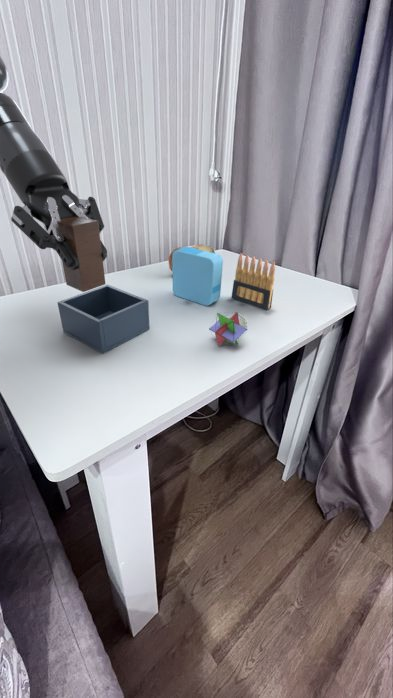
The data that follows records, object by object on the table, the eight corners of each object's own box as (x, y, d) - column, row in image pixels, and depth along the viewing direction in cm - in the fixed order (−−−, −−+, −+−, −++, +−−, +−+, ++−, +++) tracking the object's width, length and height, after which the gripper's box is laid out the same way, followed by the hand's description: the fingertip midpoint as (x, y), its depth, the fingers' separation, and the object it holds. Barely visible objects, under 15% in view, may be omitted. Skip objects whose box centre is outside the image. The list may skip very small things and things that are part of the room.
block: (66, 284, 54) (54, 220, 48) (88, 277, 57) (79, 215, 51) (83, 292, 52) (72, 225, 46) (105, 284, 55) (98, 220, 49)
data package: (220, 301, 85) (224, 255, 78) (210, 307, 81) (213, 259, 75) (182, 289, 90) (183, 245, 84) (172, 294, 87) (172, 249, 80)
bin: (102, 354, 63) (98, 322, 59) (63, 332, 69) (57, 302, 65) (149, 329, 71) (148, 300, 68) (110, 311, 77) (107, 284, 74)
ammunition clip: (271, 308, 83) (279, 260, 76) (267, 310, 81) (275, 262, 75) (234, 296, 88) (239, 251, 81) (231, 298, 87) (235, 252, 80)
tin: (171, 279, 97) (171, 250, 92) (167, 275, 99) (166, 247, 94) (215, 272, 103) (217, 244, 98) (210, 268, 105) (211, 241, 101)
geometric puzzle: (222, 349, 61) (242, 311, 61) (196, 335, 66) (215, 299, 65) (239, 357, 67) (258, 322, 67) (215, 343, 71) (232, 310, 71)
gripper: (-18, 147, 43) (55, 261, 43) (77, 147, 52) (135, 240, 53) (-23, 188, 48) (41, 288, 49) (63, 180, 58) (116, 264, 59)
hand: (90, 262), depth 51 cm, fingers closed on block, 4 cm apart
